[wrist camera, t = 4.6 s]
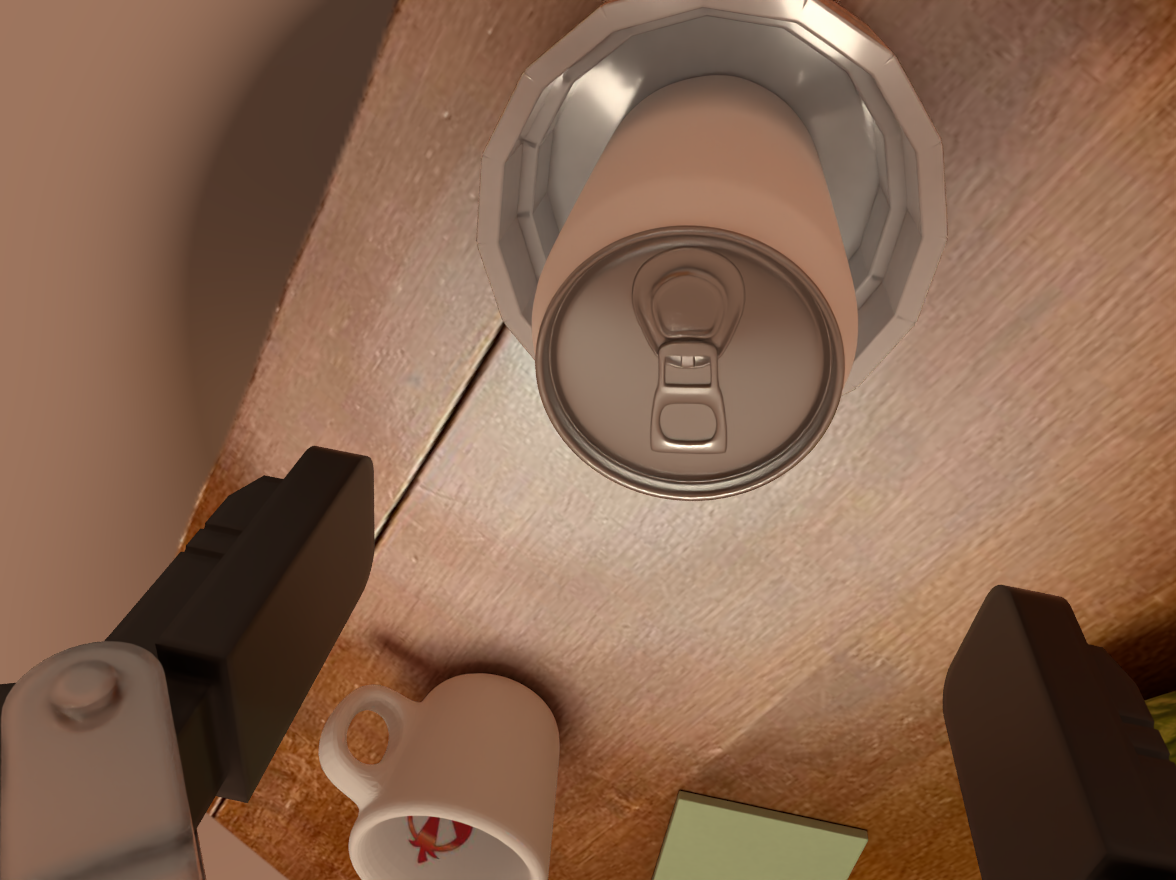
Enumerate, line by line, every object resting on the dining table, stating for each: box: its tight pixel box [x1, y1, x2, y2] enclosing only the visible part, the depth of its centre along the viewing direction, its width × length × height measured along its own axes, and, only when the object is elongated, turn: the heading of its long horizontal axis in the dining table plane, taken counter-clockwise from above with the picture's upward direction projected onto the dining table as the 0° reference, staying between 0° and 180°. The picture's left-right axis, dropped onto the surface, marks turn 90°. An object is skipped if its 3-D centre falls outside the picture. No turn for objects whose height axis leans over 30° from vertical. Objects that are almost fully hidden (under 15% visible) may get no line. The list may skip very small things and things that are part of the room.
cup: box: [319, 673, 560, 880], centre depth 37 cm, size 11×8×8 cm
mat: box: [652, 791, 868, 880], centre depth 43 cm, size 9×9×1 cm
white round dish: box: [476, 0, 948, 396], centre depth 24 cm, size 12×12×5 cm
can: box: [532, 75, 858, 501], centre depth 21 cm, size 6×6×12 cm
